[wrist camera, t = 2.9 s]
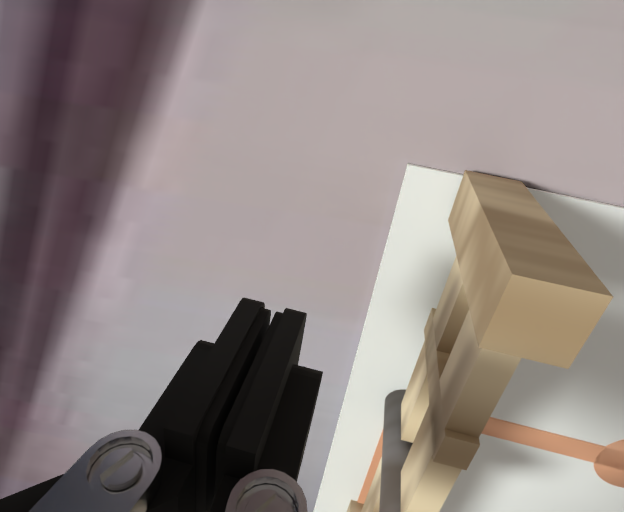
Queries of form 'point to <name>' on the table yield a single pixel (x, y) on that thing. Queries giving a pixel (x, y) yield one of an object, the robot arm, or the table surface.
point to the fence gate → (490, 327)
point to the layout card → (520, 389)
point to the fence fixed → (387, 462)
